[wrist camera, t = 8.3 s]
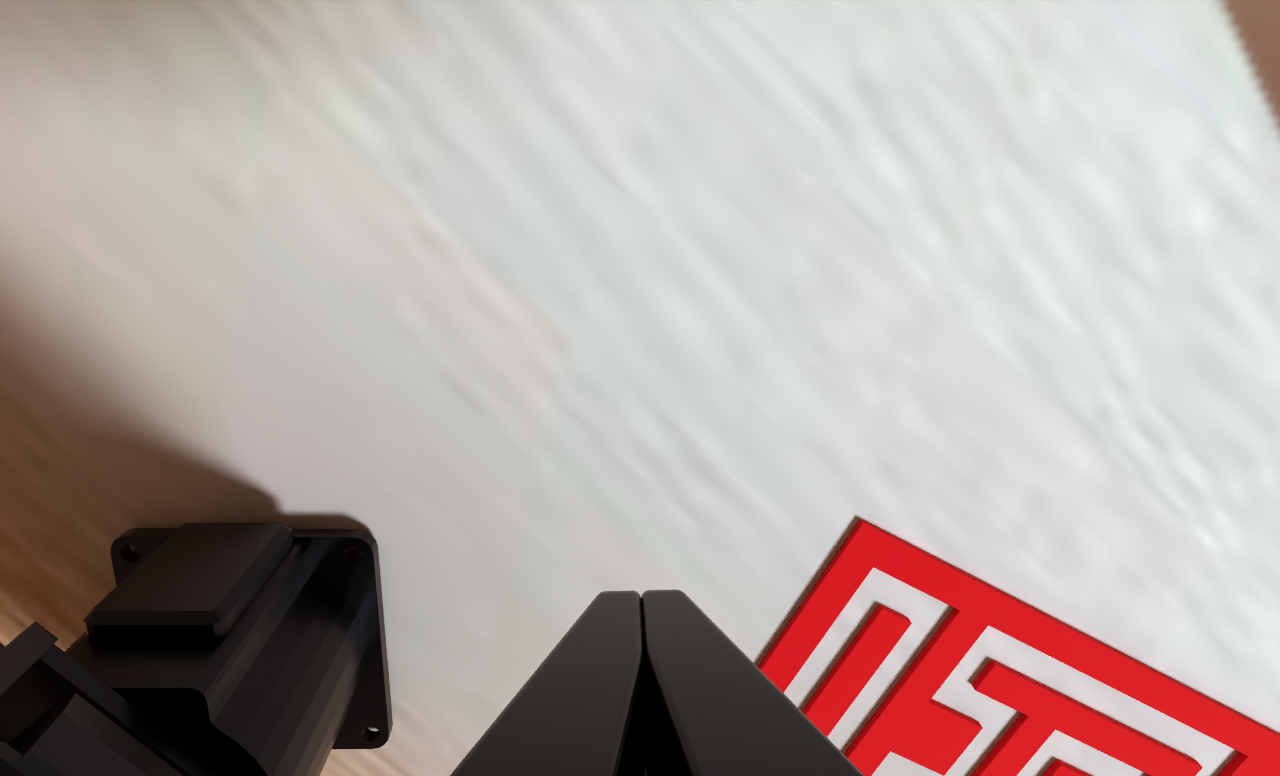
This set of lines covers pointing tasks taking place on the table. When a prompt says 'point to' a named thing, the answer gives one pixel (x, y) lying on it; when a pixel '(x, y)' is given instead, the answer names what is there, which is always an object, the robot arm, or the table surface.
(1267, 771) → the maze puzzle
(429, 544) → the table surface
